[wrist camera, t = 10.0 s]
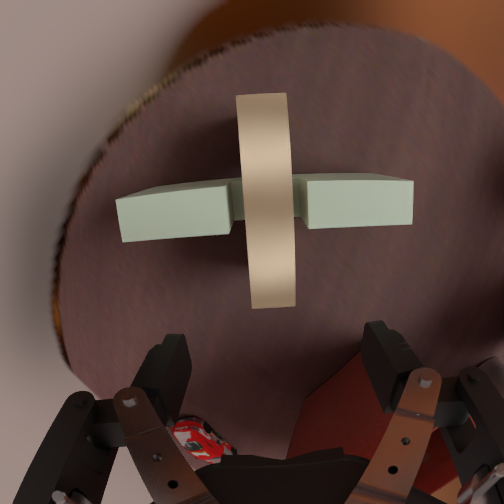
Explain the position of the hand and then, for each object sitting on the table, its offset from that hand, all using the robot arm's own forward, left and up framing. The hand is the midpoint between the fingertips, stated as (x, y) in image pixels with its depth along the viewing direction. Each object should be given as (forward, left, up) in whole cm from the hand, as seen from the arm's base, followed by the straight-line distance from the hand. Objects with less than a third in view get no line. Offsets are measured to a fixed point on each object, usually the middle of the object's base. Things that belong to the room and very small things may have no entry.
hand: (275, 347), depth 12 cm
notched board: (+4, -2, -15) cm, 16 cm away
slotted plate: (+5, -2, -15) cm, 16 cm away
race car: (-25, +20, -16) cm, 36 cm away
